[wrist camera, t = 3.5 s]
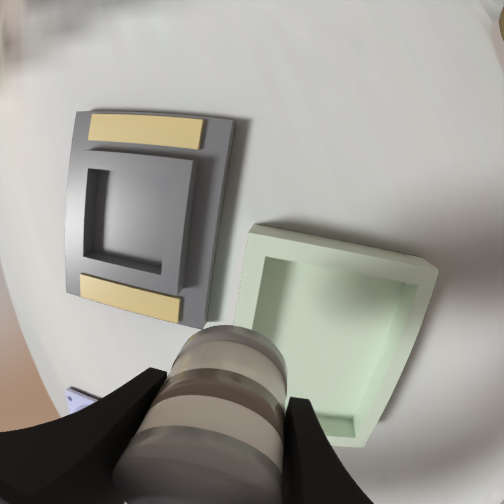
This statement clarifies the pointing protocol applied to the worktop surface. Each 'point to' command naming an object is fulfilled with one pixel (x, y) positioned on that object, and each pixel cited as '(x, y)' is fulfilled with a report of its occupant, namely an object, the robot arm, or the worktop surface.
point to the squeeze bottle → (502, 23)
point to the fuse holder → (146, 211)
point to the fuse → (212, 426)
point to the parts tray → (335, 321)
